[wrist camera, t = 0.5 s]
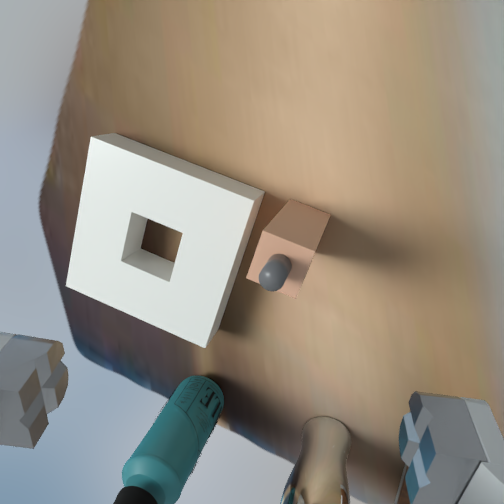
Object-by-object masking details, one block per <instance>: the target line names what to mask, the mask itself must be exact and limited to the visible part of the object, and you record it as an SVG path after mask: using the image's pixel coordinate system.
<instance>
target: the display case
mask: <svg viewBox="0 0 504 504" xmlns="http://www.w3.org/2000/svg"><path fill="white" fill-rule="evenodd" d="M408 469H409V467H408V466H407V465H406V463H405V466H404V470H403V474H402V477H401V481H400V485H399V488H398V492H397V496H396V499H395V503H394V504H410V500H409V495H408V490H407V485H406V480H405V476H406V473H407V471H408Z"/></svg>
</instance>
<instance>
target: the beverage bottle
mask: <svg viewBox="0 0 504 504" xmlns="http://www.w3.org/2000/svg"><path fill="white" fill-rule="evenodd" d="M178 385H179V384H178ZM170 397H171V396H170ZM223 406H224V396H223V393H222V391H221V389H220V388H219V386H218V385H217V384H216V383H215V382H214V381H212V380H211V379H209V378H207V377H204V376H191V377H188V378H187V379H185V380H184V381H182V382H181V383H180V385H179V386H178V388H177V389H176V390H175V391H174V392H173V394H172V397H171V398H170V399H169V401H168V403H167V404H166V406H165V407H164V409H163V410H162V412H161V413H160V415H159V416H158V417H157V419H156V421H155V423H154V424H153V426H152V427H151V428H150V430H149V431H148V433H147V434H146V436H145V437H144V438H143V440H142V441H141V443H140V444H139V446H138V447H137V449H136V450H135V451H134V453H133V454H132V456H131V457H130V459H129V460H128V461H127V462H126V463H125V465H124V467H123V470H122V480H123V484H124V486H125V487H124V488H122V490H121V491H120V492H119V494H118V495H117V498H116V500H115V502H114V503H113V504H174V503H176V501H177V500H178V499H179V497H180V495H181V491H182V489H183V487H184V485H185V483H186V481H187V479H188V477H189V475H190V474H191V472H192V470H193V468H194V466H195V465H196V463H197V459H198V458H199V457H200V454H201V451H202V449H203V447H204V445H205V443H206V441H207V439H208V438H209V437H210V434H211V433H212V431H213V430H214V426H215V425H216V423H217V421H218V420H217V419H218V418H220V416H221V415H220V413H221V411H222V409H223ZM192 473H193V472H192Z"/></svg>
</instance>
